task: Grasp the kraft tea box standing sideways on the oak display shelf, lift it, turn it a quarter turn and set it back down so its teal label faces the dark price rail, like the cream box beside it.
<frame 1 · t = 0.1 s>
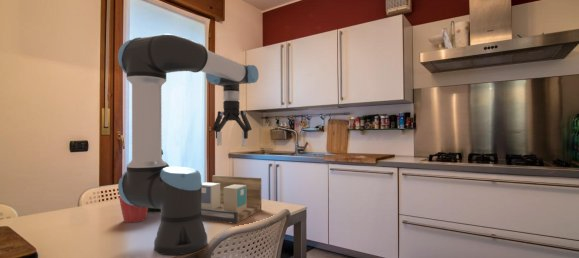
hand: (231, 145, 142), 28 cm above the table, fingers open, 13 cm apart
cream box: (208, 207, 130), point 2 cm above the table, touching shelf
shelf: (224, 212, 128), on the table
flower pot: (134, 220, 118), on the table
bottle: (156, 210, 134), on the table
tea box: (241, 211, 123), point 2 cm above the table, touching shelf
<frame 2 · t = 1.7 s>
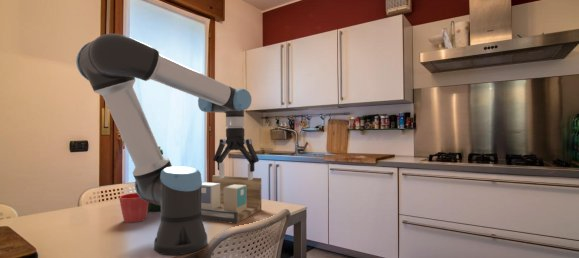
hand: (235, 179, 124), 15 cm above the table, fingers open, 13 cm apart
nothing on the table moved.
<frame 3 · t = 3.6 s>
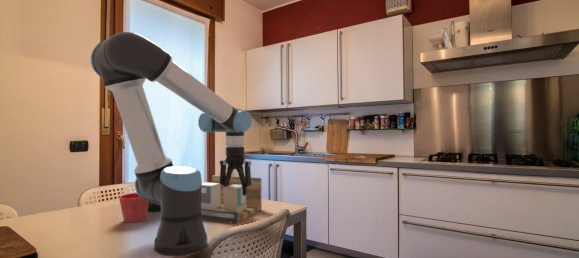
hand: (235, 202, 124), 5 cm above the table, fingers closed on tea box, 6 cm apart
tea box: (241, 211, 123), point 2 cm above the table, touching gripper, shelf
everything else where it was.
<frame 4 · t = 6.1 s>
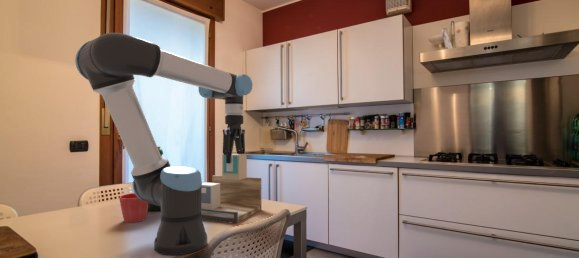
hand: (234, 170, 125), 19 cm above the table, fingers closed on tea box, 6 cm apart
tea box: (230, 179, 122), point 15 cm above the table, touching gripper
everything else where it was.
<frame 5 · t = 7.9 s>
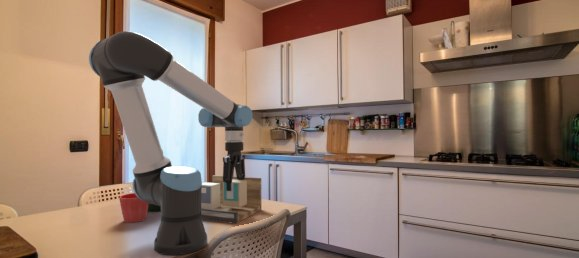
hand: (234, 196, 125), 7 cm above the table, fingers closed on tea box, 6 cm apart
tea box: (230, 206, 122), point 4 cm above the table, touching gripper
everything else where it was.
when the fingers open (6 cm above the table, at t = 9.0 s): tea box stays where it is, resting on shelf.
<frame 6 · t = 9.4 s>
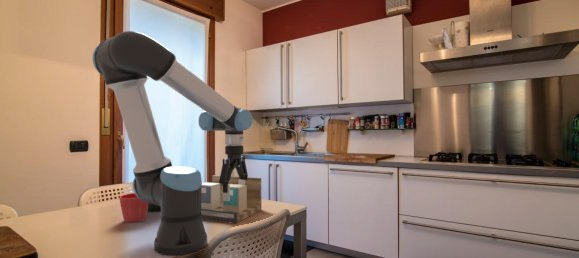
hand: (234, 197, 125), 7 cm above the table, fingers open, 11 cm apart
tea box: (230, 211, 122), point 2 cm above the table, touching shelf
everything else where it was.
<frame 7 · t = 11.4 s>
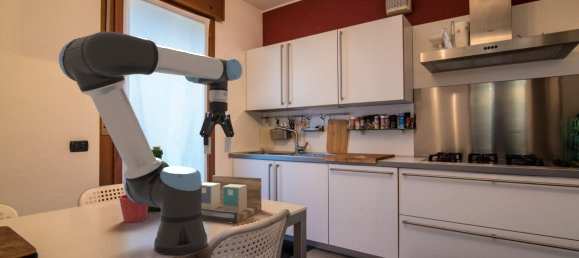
hand: (217, 153, 124), 26 cm above the table, fingers open, 13 cm apart
nothing on the table moved.
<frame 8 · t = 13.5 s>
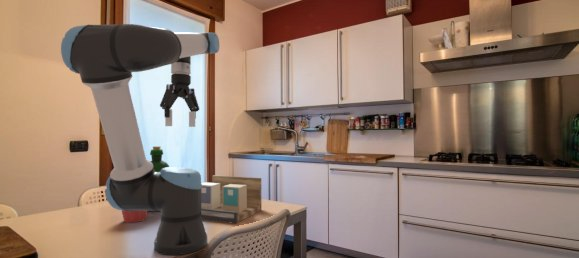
hand: (181, 126, 123), 37 cm above the table, fingers open, 13 cm apart
nothing on the table moved.
at the end: tea box 0.9 cm from the target spot on the shelf, point 2.0 cm above the shelf's base; tea box tilted 0°; the gripper is holding nothing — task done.
